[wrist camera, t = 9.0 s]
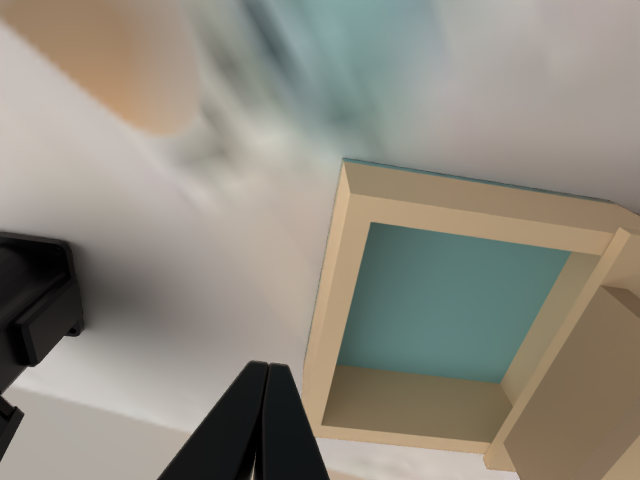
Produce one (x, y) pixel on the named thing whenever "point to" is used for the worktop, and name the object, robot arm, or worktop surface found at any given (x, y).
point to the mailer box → (441, 302)
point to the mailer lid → (584, 384)
